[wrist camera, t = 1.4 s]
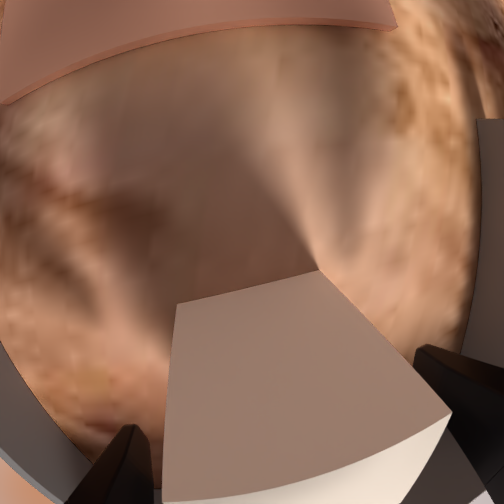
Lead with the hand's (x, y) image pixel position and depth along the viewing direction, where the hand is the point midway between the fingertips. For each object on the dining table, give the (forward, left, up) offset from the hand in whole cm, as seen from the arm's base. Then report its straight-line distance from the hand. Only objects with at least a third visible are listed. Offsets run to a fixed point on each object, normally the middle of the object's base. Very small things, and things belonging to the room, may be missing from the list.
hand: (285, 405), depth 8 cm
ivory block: (0, 0, -3) cm, 3 cm away
